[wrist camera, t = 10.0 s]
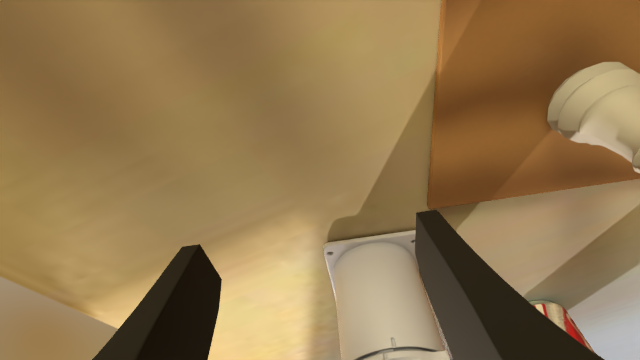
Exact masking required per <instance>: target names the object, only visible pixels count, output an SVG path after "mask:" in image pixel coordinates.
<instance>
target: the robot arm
mask: <svg viewBox="0 0 640 360" xmlns="http://www.w3.org/2000/svg"><path fill="white" fill-rule="evenodd" d="M323 251H324V255H325V259H326V263H327V267H328V271H329V275H330V279H331V283H332V287H333V291H334V295H335V299H336V304H337V315H338V326H339V337H340V348H341V358H342V360H451V359H450V357H449V354H448V351H446V350H445V349H444V346H443V343H442V340H441V337H440V334H439V331H438V328H437V325H436V322H435V319H434V316H433V313H432V310H431V307H430V304H429V301H428V298H427V295H426V292H425V289H426V291H427V294H428V296H429V299H430V301H431V304H432V306H433V309H434V311H435V314H436V316H437V319H438V321H439V324H440V326H441V329H442V331H443V334H444V336H445V339H446V341H447V344H448V346H449V349H450V351H451V354H452V357H453V360H604V359H603V358H601V357H600V356H598V355H597V354H596V353H594V352H593V351H591V350H590V349H588V348H587V347H586V346H584V345H583V344H581V343H580V342H579V341H577V340H576V339H575V338H573V337H572V336H571V335H569V334H568V333H567V332H566V331H564V330H563V329H562V328H560V327H559V326H558V325H556V324H555V323H554V322H553V321H551V320H550V319H549V318H548V317H546V316H545V315H544V314H543V313H541V312H540V311H539V310H538V309H536V308H535V307H534V306H533V305H532V304H530V303H529V302H528V301H527V300H526V299H525V298H523V297H522V296H521V295H520V294H519V293H518V292H517V291H515V290H514V289H513V288H512V287H511V286H510V285H509V284H508V283H507V282H505V281H504V280H503V279H502V278H501V277H500V276H499V275H498V274H497V273H496V272H495V271H494V270H493V269H492V268H491V267H490V266H489V265H488V264H487V263H486V262H484V261H483V260H482V259H481V258H480V257H479V256H478V255H477V254H476V253H475V252H474V251H473V249H472V248H471V247H470V246H469V245H468V244H467V243H466V242H465V241H464V240H463V239H462V238H461V237H460V236H459V235H458V234H457V232H456V231H455V230H454V229H453V228H452V227H451V226H450V225H449V223H448V222H447V221H446V220H445V219H444V218H443V216H442V215H441V214H440V213H439V212H438V211H437V210H431V211H424V212H417V213H416V230H412V231H405V232H398V233H391V234H384V235H377V236H370V237H363V238H356V239H349V240H342V241H335V242H328V243H325V244H324V245H323ZM419 270H420V274H421V277H422V280H421V277H420V274H419ZM221 280H222V279H221V278H220V276H219V274H218V273H217V271H216V270H215V268H214V266H213V265H212V263H211V262H210V260H209V258H208V257H207V255H206V254H205V252H204V250H203V249H202V247H201V246H200V244H199V245H192V246H185V247H182V248H181V249H180V251H179V252H178V253H177V254H176V256H175V257H174V258H173V260H172V261H171V262H170V264H169V265H168V266H167V268H166V269H165V270H164V272H163V273H162V275H161V276H160V277H159V279H158V280H157V281H156V283H155V284H154V285H153V287H152V288H151V289H150V290H149V292H148V293H147V294H146V296H145V297H144V298H143V300H142V301H141V302H140V303H139V305H138V306H137V307H136V309H135V310H134V311H133V312H132V314H131V315H130V316H129V317H128V318H127V320H126V321H125V322H124V323H123V324H122V326H121V327H120V328H119V329H118V331H117V332H116V333H115V334H114V335H113V337H112V338H111V339H110V340H109V341H108V343H107V344H106V345H105V346H104V347H103V349H101V351H100V352H99V353H98V354H97V355H96V356H95V357H94V358H93V359H92V360H207V359H208V355H209V350H210V346H211V342H212V337H213V333H214V328H215V324H216V319H217V315H218V310H219V302H220V292H221ZM422 281H423V283H422ZM423 284H424V286H425V289H424V286H423Z"/></svg>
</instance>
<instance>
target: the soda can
mask: <svg viewBox="0 0 640 360" xmlns="http://www.w3.org/2000/svg"><path fill="white" fill-rule="evenodd" d="M529 303H530V304H532V305H533V306H534V307H535V308H536V309H538V310H539V311H540V312H541V313H543V314H544V315H545V316H546V317H548V318H549V319H550V320H551V321H553V322H554V323H555V324H556V325H558V326H559V327H560V328H562V329H563V330H564V331H566V332H567V333H568V334H569V335H571V336H572V337H573V338H575V339H576V340H577V341H579V342H580V343H581V344H583V345H584V346H586V347H587V348H588V349H590V350H591V351H593V349H592V348H591V346H590V345H589V343H588V342H587V340H586V339H585V338H584V336H583V335H582V333H581V332H580V330H579V329H578V327H577V326H576V324H575V323H574V321H573V320H572V319H571V317H570V316H569V314H568V313H567V311H566V310H565V309H564V308H563V307H562V306H561V305H559V304H555V303H552V302H550V301H546V300H537V301H531V302H529ZM593 352H594V351H593ZM594 353H595V352H594Z"/></svg>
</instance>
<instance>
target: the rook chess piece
mask: <svg viewBox="0 0 640 360" xmlns="http://www.w3.org/2000/svg"><path fill="white" fill-rule="evenodd" d="M547 121H548V123H549V125H550V126H551V128H552V130H554V131H556V132H559V133H561V134H562V136H563V137H565V138H567V139H570V140H572V141H574V142H577V143H588V144H590V145H601V146H604V147H606V148H608V149H610V150H612V151H614V152H616V153H618V154H620V155H622V156H623V157H624V158H626V159H627V160H629V161H630V162H631V163H632V166H633V169H634V171H635V172H637V173H640V74H639V73H637V72H636V71H634V70H632V69H630V68H629V67H627V66H625V65H624V64H622V63H620V62H602V63H599V64H596V65H593V66H590V67H588V68H585V69H582V70H579V71H578V72H576V73H575V74H573V75H572V76H570V77H569V78H567V79H566V80H565V81H564V82H563V83H562V84H561V85H560V86H559V88H558V89H557V90H556V91H555V92H554V94H553V96H552V98H551V100H550V102H549V106H548V117H547Z"/></svg>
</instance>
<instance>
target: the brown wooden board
mask: <svg viewBox="0 0 640 360" xmlns="http://www.w3.org/2000/svg"><path fill="white" fill-rule="evenodd" d="M602 62H620V63H622V64H624V65H625V66H627V67H629V68H630V69H632V70H634V71H636V72H637V73H639V74H640V0H441V10H440V25H439V39H438V54H437V68H436V82H435V97H434V111H433V125H432V140H431V154H430V168H429V183H428V197H427V205H428V208H429V209H435V208H442V207H449V206H456V205H463V204H469V203H476V202H483V201H490V200H497V199H504V198H510V197H517V196H524V195H531V194H538V193H544V192H551V191H558V190H565V189H572V188H579V187H585V186H592V185H599V184H606V183H613V182H619V181H626V180H633V179H640V173H637V172H635V171H634V169H633V166H632V163H631V162H630V161H629V160H627V159H626V158H624V157H623V156H622V155H620V154H618V153H616V152H614V151H612V150H610V149H608V148H606V147H604V146H601V145H590V144H588V143H577V142H574V141H572V140H570V139H567V138H565V137H563V136H562V134H561V133H559V132H556V131H554V130H552V128H551V126H550V125H549V123H548V121H547V117H548V106H549V102H550V100H551V98H552V96H553V94H554V92H555V91H556V90H557V89H558V88H559V86H560V85H561V84H562V83H563V82H564V81H565V80H566V79H567V78H569V77H570V76H572V75H573V74H575V73H576V72H578V71H579V70H582V69H585V68H588V67H590V66H593V65H596V64H599V63H602Z"/></svg>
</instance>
